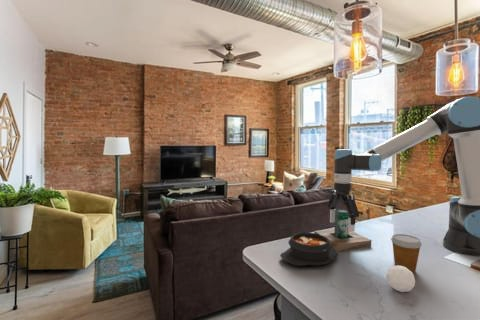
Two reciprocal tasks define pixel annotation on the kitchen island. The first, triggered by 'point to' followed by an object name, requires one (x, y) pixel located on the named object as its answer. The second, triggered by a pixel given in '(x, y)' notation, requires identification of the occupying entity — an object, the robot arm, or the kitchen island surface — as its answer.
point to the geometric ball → (400, 278)
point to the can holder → (345, 240)
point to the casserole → (309, 250)
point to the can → (341, 224)
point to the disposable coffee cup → (406, 250)
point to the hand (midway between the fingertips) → (341, 226)
